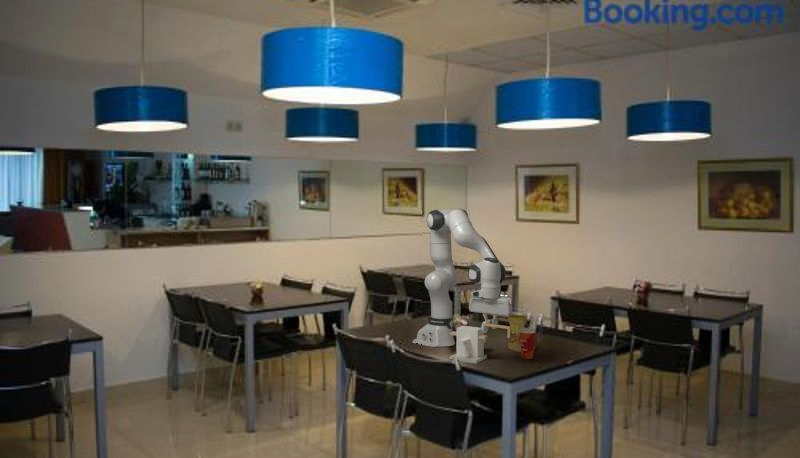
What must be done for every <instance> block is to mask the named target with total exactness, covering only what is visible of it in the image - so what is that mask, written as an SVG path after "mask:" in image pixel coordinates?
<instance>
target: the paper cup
mask: <svg viewBox="0 0 800 458" xmlns="http://www.w3.org/2000/svg"><path fill="white" fill-rule="evenodd" d="M520 331H521V328H520ZM520 331H519V332H520ZM535 336H536V330H535V328H534V327H533V328H532V327H524V328H523V332H520V345H521V352H520V359H522V360H532V359H533V358H534V353H535V352H534V351H535V349H534V342H535Z"/></svg>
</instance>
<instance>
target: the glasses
mask: <svg viewBox="0 0 800 458" xmlns="http://www.w3.org/2000/svg"><path fill="white" fill-rule="evenodd" d="M489 319H490V318H489ZM492 319H493V318H491V319H490V320H488V321H486V322H485V320H484V321H483V322H482V323H481V327H480V328H481V330H482V333H484V334H487V333H488V331H489V328H492V329H493V330H497V328H500V329H506V330H507V333H506V335H507V336H506V337H507V338H508V339H511V327H510V325H508V326H507V325H501V324H499V321H502V322H508V323H509V322H516V323H521V331H520V332H523V322H524V321H520V320H512V319H508V318H503V317H497V318H496V319H495V324H491V320H492Z"/></svg>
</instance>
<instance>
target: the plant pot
mask: <svg viewBox="0 0 800 458" xmlns="http://www.w3.org/2000/svg"><path fill="white" fill-rule="evenodd" d="M507 319H512V320H520V321H524V322H523V328H526V324H527V322H528V321H527V320H528V318H527V316H526V315H523V314H511V315H509V316H507ZM508 323H509V326H510V327H511V329H510V334H512V335H514V333H517V332H519V331H520V328H521V323H516V322H508ZM519 333H520V332H519Z"/></svg>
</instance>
